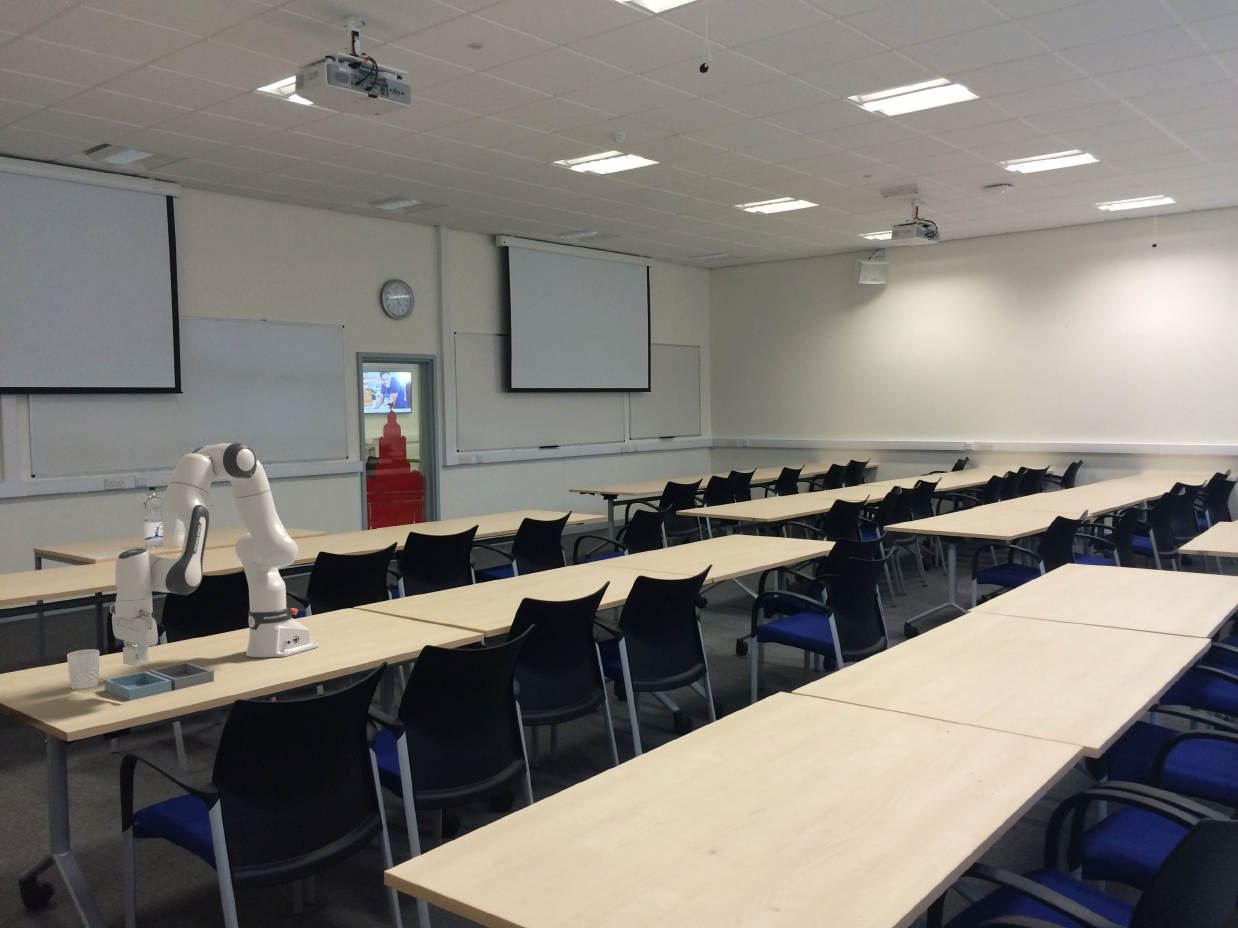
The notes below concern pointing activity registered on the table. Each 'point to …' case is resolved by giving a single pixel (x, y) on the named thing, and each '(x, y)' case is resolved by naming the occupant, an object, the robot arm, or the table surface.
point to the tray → (185, 675)
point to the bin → (137, 685)
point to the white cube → (133, 655)
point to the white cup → (83, 668)
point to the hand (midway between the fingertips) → (136, 657)
